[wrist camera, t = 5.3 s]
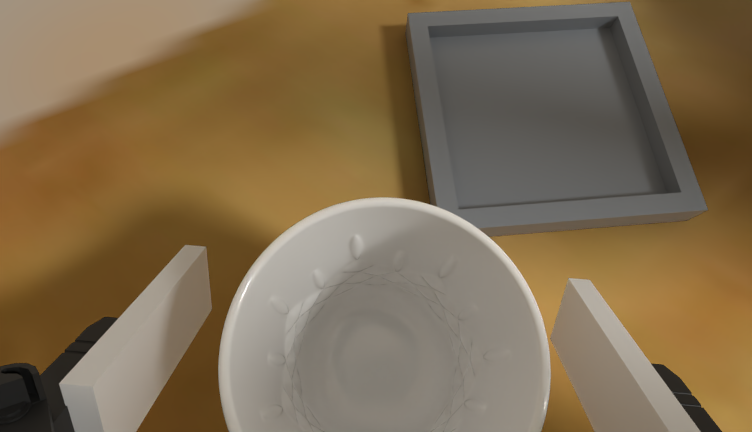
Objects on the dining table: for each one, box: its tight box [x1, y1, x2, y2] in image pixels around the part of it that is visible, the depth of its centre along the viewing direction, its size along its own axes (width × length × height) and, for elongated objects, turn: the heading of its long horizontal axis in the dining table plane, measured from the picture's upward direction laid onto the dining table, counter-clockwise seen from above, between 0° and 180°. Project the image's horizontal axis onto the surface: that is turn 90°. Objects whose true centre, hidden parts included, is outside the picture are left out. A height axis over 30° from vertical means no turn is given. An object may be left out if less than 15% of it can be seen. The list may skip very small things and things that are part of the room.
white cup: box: [218, 197, 551, 432], centre depth 15 cm, size 8×8×10 cm
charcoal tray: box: [406, 2, 708, 237], centre depth 24 cm, size 13×13×2 cm
